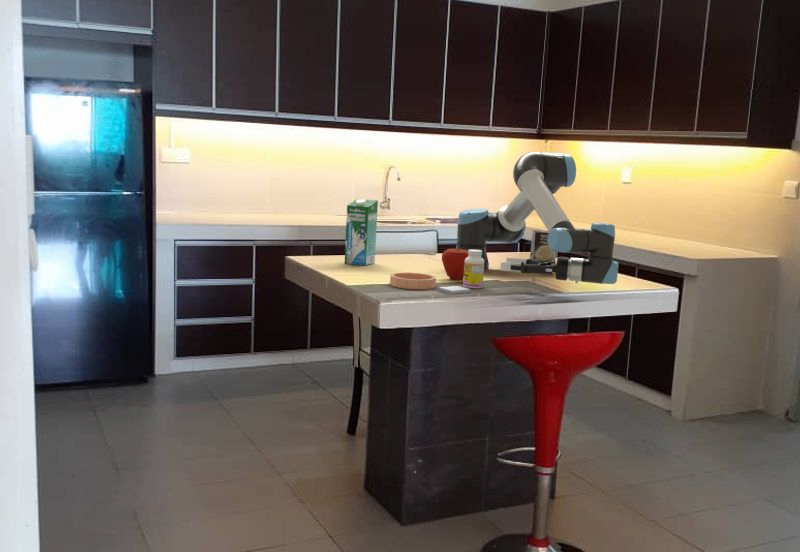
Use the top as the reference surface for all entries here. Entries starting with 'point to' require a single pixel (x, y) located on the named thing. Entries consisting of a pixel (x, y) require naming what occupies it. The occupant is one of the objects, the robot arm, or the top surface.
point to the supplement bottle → (473, 269)
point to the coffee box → (541, 247)
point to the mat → (451, 294)
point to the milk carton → (361, 232)
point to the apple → (454, 262)
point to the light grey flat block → (454, 289)
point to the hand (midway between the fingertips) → (503, 263)
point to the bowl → (413, 280)
